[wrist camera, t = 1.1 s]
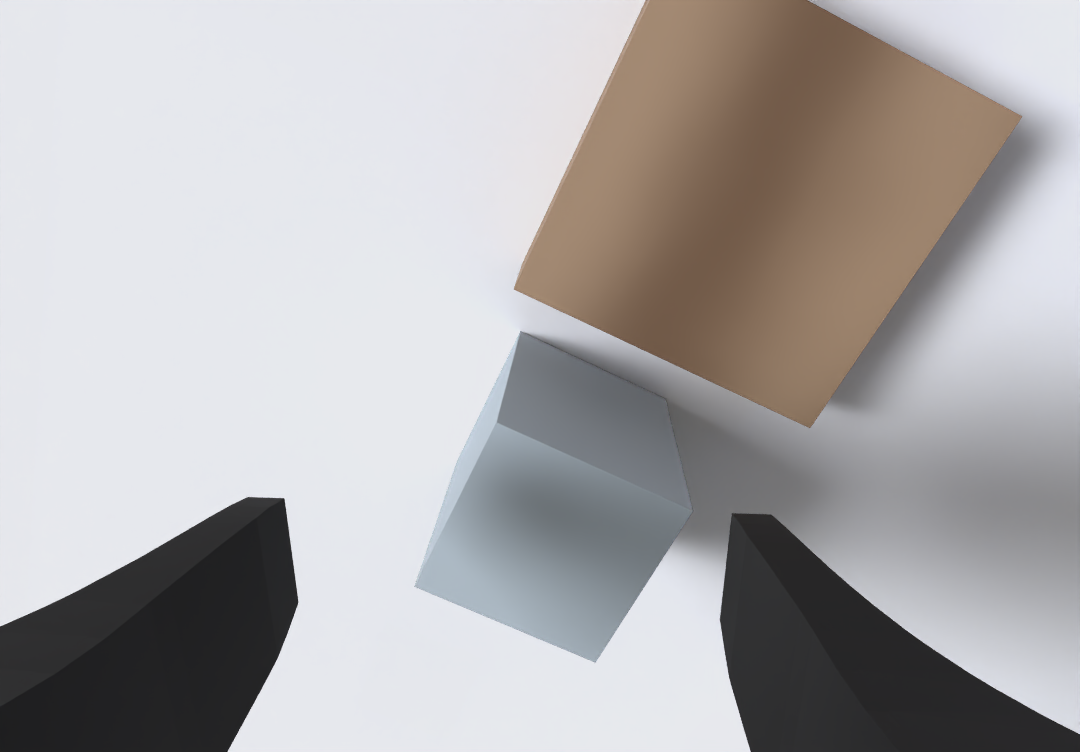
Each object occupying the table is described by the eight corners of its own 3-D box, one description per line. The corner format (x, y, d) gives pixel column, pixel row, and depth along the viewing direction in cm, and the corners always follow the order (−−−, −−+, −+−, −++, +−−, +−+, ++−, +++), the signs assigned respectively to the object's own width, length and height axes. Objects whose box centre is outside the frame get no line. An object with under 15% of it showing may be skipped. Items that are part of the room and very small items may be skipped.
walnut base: (956, 110, 19) (1022, 116, 16) (780, 382, 21) (810, 428, 19) (666, -46, 18) (681, -68, 15) (523, 260, 20) (513, 289, 18)
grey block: (665, 398, 21) (693, 511, 16) (593, 520, 23) (595, 662, 17) (520, 330, 21) (496, 422, 15) (457, 460, 22) (414, 586, 17)
